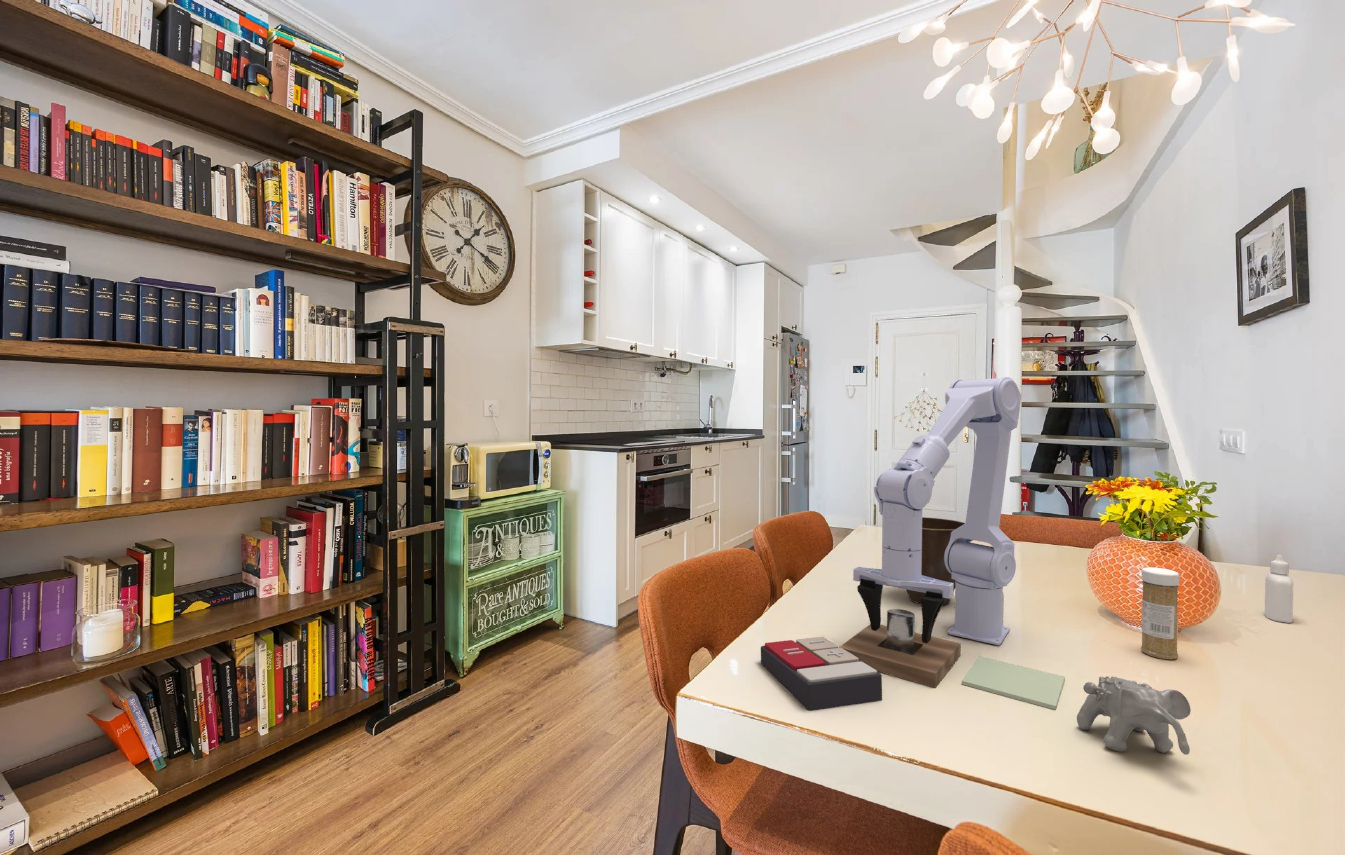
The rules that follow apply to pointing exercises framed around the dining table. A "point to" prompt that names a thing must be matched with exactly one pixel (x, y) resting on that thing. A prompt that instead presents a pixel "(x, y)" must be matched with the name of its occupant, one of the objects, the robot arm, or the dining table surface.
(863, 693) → the calculator
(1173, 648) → the spice jar
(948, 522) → the plant pot
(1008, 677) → the sage pad
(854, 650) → the walnut holder
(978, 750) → the dining table surface
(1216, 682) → the dining table surface
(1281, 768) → the dining table surface
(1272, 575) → the eye dropper bottle
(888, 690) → the dining table surface
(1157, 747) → the elephant statuette
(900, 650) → the metal peg
